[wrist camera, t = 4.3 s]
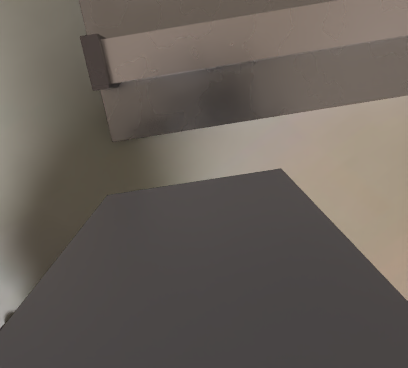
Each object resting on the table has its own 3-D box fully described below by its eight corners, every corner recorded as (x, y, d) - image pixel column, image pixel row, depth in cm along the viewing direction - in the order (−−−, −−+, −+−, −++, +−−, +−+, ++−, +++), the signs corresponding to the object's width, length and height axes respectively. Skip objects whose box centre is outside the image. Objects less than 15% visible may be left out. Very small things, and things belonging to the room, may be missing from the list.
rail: (467, 84, 19) (508, 84, 16) (115, 140, 19) (102, 149, 17) (479, -85, 16) (529, -114, 14) (78, -16, 17) (58, -33, 14)
